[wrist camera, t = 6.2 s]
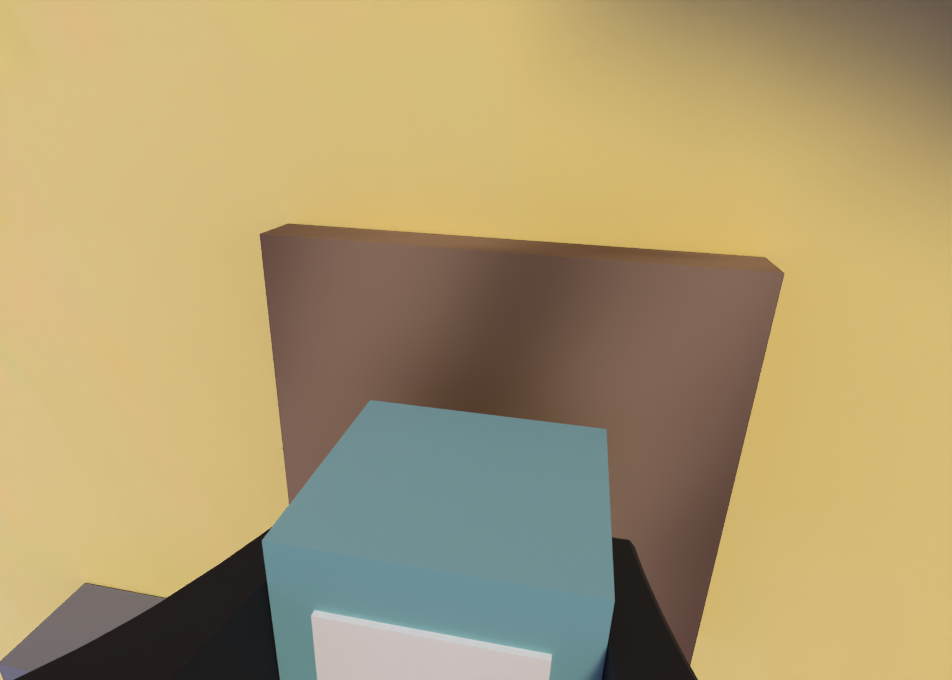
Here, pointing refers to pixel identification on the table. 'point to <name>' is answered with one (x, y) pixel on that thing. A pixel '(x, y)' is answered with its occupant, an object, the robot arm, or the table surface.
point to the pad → (537, 363)
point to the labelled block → (446, 552)
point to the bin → (75, 626)
